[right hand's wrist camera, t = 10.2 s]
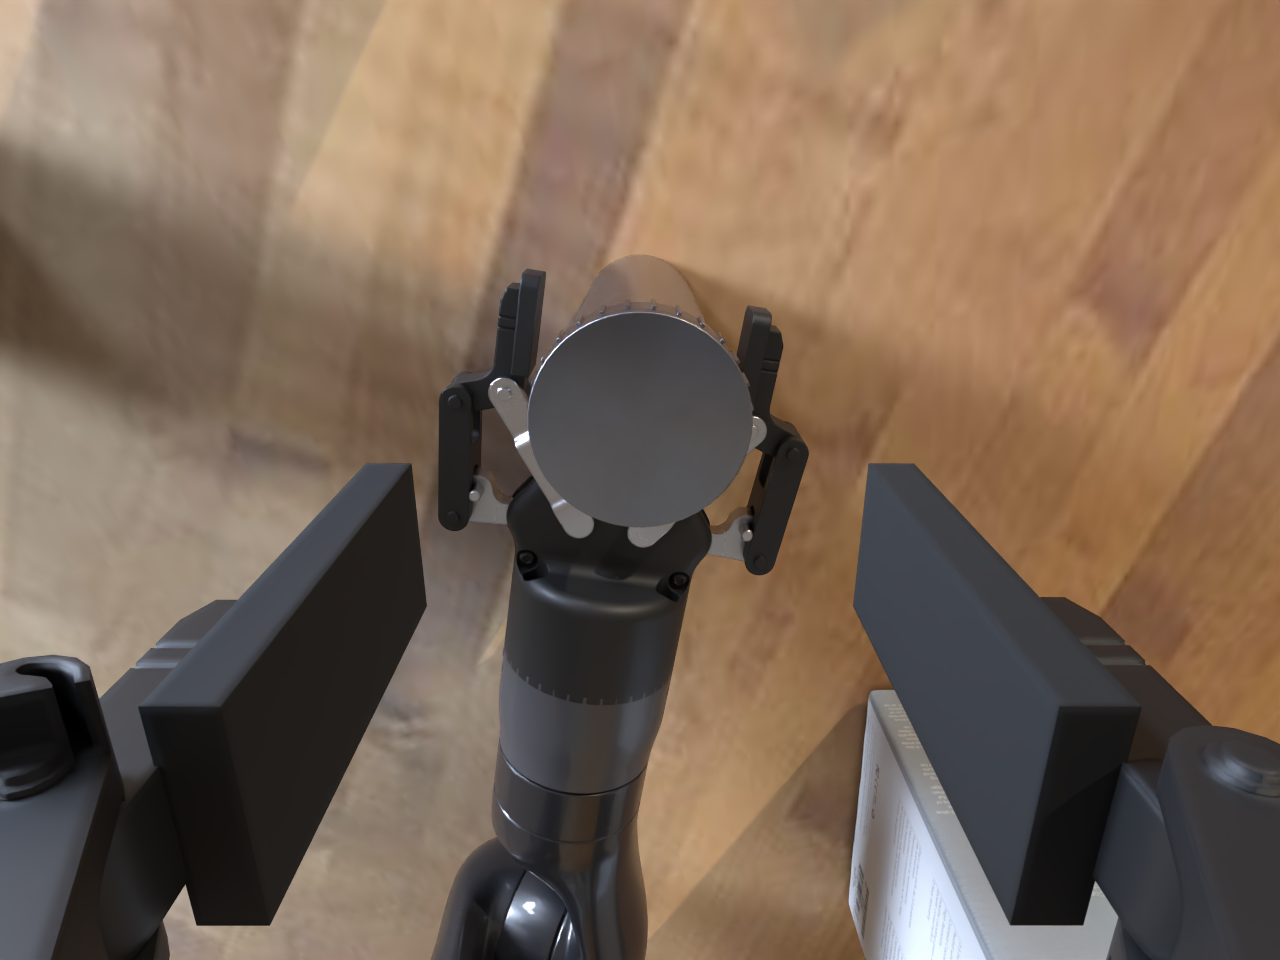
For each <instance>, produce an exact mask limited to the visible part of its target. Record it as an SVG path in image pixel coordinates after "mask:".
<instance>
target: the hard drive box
mask: <svg viewBox="0 0 1280 960" xmlns="http://www.w3.org/2000/svg"><path fill="white" fill-rule="evenodd" d="M849 906H850V910H851V913H852V916H853V920H854V923H855V927H856V930H857V933H858V936H859V940H860V943H861V946H862V950H863V953H864V956H865V959H866V960H1106V958H1107V954H1108V951H1109V948H1110V944H1111V941H1112V937H1113V934H1114V930H1115V927H1116V923H1117V920H1118V915H1117V914H1116V912H1115V911H1114V909H1113V908H1112V906H1111V905H1110V903H1109V901H1108V900H1107V898H1106V897H1105V895H1104V894H1103V892H1102V891H1101V889H1100V887H1099V886H1098V884H1097V883H1096V881H1095V884H1094V888H1093V891H1092V895H1091V899H1090V902H1089V906H1088V910H1087V914H1086V917H1085V921H1084V925H1083V926H1010V924H1009V922H1008V920H1007V918H1006V916H1005V914H1004V912H1003V910H1002V908H1001V906H1000V904H999V902H998V900H997V898H996V896H995V894H994V892H993V890H992V887H991V885H990V883H989V881H988V879H987V877H986V875H985V873H984V871H983V869H982V867H981V865H980V863H979V861H978V859H977V857H976V855H975V853H974V851H973V849H972V847H971V845H970V843H969V841H968V839H967V837H966V835H965V833H964V831H963V828H962V826H961V824H960V822H959V820H958V818H957V816H956V814H955V812H954V810H953V808H952V806H951V804H950V802H949V800H948V798H947V796H946V794H945V792H944V790H943V788H942V786H941V784H940V782H939V780H938V778H937V776H936V774H935V772H934V769H933V767H932V765H931V763H930V761H929V759H928V757H927V755H926V753H925V751H924V749H923V747H922V745H921V743H920V741H919V739H918V737H917V735H916V733H915V731H914V729H913V727H912V725H911V723H910V721H909V719H908V717H907V715H906V713H905V710H904V708H903V706H902V704H901V702H900V700H899V698H898V696H897V694H896V692H895V690H873V691H871V692H870V693H869V699H868V709H867V722H866V731H865V738H864V749H863V761H862V772H861V782H860V789H859V800H858V811H857V821H856V830H855V840H854V845H853V855H852V868H851V881H850V891H849Z"/></svg>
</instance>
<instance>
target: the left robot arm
mask: <svg viewBox="0 0 1280 960" xmlns="http://www.w3.org/2000/svg"><path fill="white" fill-rule="evenodd" d="M545 279H546V272H544V271H538V270H532V269H526V270H525V271H524V272H523V273H522V276H521V281H520V284H519V283H512V284H510V285H509V286H508V287H507V288H506V290H505V292H504V294H503V296H502V298H501V300H500V308H499V319H498V329H497V340H496V350H495V361H494V366H493V368H491V369H489V370H486V371H481V372H476V373H472V372H462V373H460V374H458V375H457V376H456V377H455V378H454V380H453V381H452V383H451V384H450V385H449V386H448V387H446V388H445V389H444V391H443V392H442V393H441V395H440V398H439V498H438V518H439V521H440V523H441V525H442V526H443V527H445V528H446V529H448V530H451V531H458V530H461V529H463V528H464V527H465V526H466V525H467V523H468V522H479V523H490V524H501V525H508V527H509V529H510V531H511V533H512V536H513V539H514V543H515V557H514V566H513V575H512V584H511V592H510V601H509V610H508V618H507V627H506V636H505V644H504V650H503V663H502V671H501V679H500V690H499V714H500V738H499V745H498V754H497V762H496V771H495V779H494V787H493V796H492V822H493V827H494V830H495V833H496V836H497V837H496V838H493V839H491V840H489V841H487V842H485V843H484V844H482V845H481V846H479V847H478V848H477V849H476V850H474V851H473V852H472V853H471V854H470V855H469V856H468V857H467V859H466V860H465V861H464V863H463V864H462V866H461V867H460V869H459V871H458V873H457V875H456V877H455V879H454V882H453V885H452V888H451V891H450V893H449V896H448V900H447V903H446V907H445V911H444V914H443V918H442V922H441V926H440V930H439V933H438V937H437V941H436V944H435V948H434V951H433V954H432V958H431V960H645V955H646V949H647V937H648V916H647V902H646V893H645V887H644V880H643V875H642V869H641V863H640V856H639V848H638V834H637V817H638V811H639V805H640V800H641V795H642V790H643V785H644V780H645V775H646V770H647V765H648V760H649V756H650V752H651V749H652V746H653V743H654V741H655V738H656V736H657V733H658V730H659V728H660V725H661V721H662V718H663V714H664V709H665V704H666V699H667V695H668V690H669V685H670V680H671V675H672V670H673V666H674V660H675V655H676V651H677V646H678V641H679V636H680V631H681V626H682V622H683V617H684V612H685V607H686V602H687V597H688V592H689V587H690V583H691V578H692V575H693V572H694V570H695V568H696V566H697V565H698V564H699V562H700V561H701V560H702V559H703V558H704V557H705V556H706V555H707V554H710V555H715V556H720V557H725V558H730V559H735V560H740V561H744V562H745V565H746V568H747V570H748V571H749V572H750V573H752V574H754V575H764V574H767V573H768V572H770V571H771V570H772V568H773V567H774V564H775V561H776V557H777V554H778V551H779V548H780V545H781V542H782V538H783V535H784V532H785V529H786V526H787V523H788V519H789V516H790V513H791V510H792V507H793V504H794V500H795V497H796V494H797V491H798V488H799V484H800V481H801V478H802V475H803V472H804V469H805V465H806V462H807V459H808V455H809V452H808V448H807V446H806V444H805V443H804V441H803V439H802V438H801V436H800V434H799V433H798V431H797V430H796V428H795V426H794V425H793V424H791V423H789V422H785V421H782V420H780V419H778V418H776V417H774V416H773V415H771V414H770V404H771V399H772V395H773V390H774V386H775V381H776V377H777V371H778V368H779V364H780V359H781V355H782V350H783V341H782V335H781V332H780V331H779V330H778V328H777V327H776V326H774V325H771V320H772V316H771V313H770V312H769V311H768V310H767V309H766V308H760V307H754V306H748V307H747V309H746V312H745V317H744V322H743V327H742V331H741V336H740V341H739V346H738V351H737V357H738V359H739V361H740V363H739V364H737V365H738V366H739V369H740V371H741V373H744V374H745V376H746V378H747V380H748V382H749V384H750V386H749V387H748V390H749V393H750V399H751V403H752V405H753V407H754V410H753V411H752V415H753V425H752V436H751V440H750V444H749V449H748V452H747V454H748V453H749V452H751V451H752V450H753V449H754V448H756V449H758V450H760V451H762V452H763V454H762V457H761V461H760V464H759V467H758V471H757V474H756V478H755V481H754V484H753V488H752V491H751V495H750V498H749V502H748V505H747V507H738V508H736V509H734V510H733V511H732V512H731V513H730V515H729V517H728V519H727V520H726V521H725V522H724V523H723V524H721V525H718V526H710V523H709V520H708V517H707V515H706V513H705V511H704V510H703V509H702V510H700V511H699V512H697V513H695V514H693V515H691V516H689V517H687V518H685V519H682V520H679V521H677V522H674V523H671V524H666V525H661V526H655V527H644V528H642V527H625V526H619V525H614V524H610V523H607V522H603V521H600V520H598V519H595V518H593V517H591V516H588V515H587V514H585V513H583V512H581V511H580V510H578V509H576V508H575V507H573V506H572V505H571V504H569V503H568V502H567V501H565V500H564V499H563V498H562V497H561V496H560V495H559V494H558V493H557V492H556V491H555V490H554V489H553V487H552V486H551V485H550V484H549V482H548V481H547V480H546V478H545V477H544V475H543V473H542V472H541V470H540V468H539V466H538V464H537V462H536V460H535V457H534V455H533V452H532V448H531V445H530V441H529V434H528V431H527V429H528V427H527V412H528V409H526V405H527V403H528V401H529V398H530V394H531V390H532V386H533V385H531V381H532V380H531V378H530V377H529V376H530V374H531V372H532V370H533V369H534V367H535V365H536V358H537V350H538V341H539V332H540V323H541V315H542V306H543V297H544V288H545ZM490 408H495V409H496V410H497V412H498V413H499V415H500V417H501V418H502V420H503V422H504V423H505V425H506V426H507V428H508V430H509V431H510V433H511V434H512V436H513V438H514V442H515V446H516V449H517V451H518V453H519V454H520V456H521V458H522V459H523V461H524V462H525V464H526V466H527V467H528V469H529V470H530V472H531V474H532V475H531V476H530V477H529V478H528V479H527V480H526V481H525V482H524V483H523V484H522V485H521V486H520V487H519V488H518V489H517V490H516V491H515V493H514V494H513V496H507V495H505V494H503V493H502V492H501V491H500V490H499V489H498V487H497V482H496V478H495V476H494V474H493V473H492V472H491V471H490V470H488V469H485V468H481V436H482V410H485V409H490ZM747 454H746V455H747Z"/></svg>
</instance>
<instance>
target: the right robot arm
mask: <svg viewBox="0 0 1280 960" xmlns="http://www.w3.org/2000/svg"><path fill="white" fill-rule="evenodd" d="M426 607H427V603H426V594H425V585H424V576H423V567H422V557H421V548H420V539H419V530H418V520H417V511H416V502H415V493H414V483H413V474H412V465H411V464H365V465H364V466H363V468H362V469H361V470H360V471H359V472H358V473H357V474H356V475H355V476H354V477H353V478H352V479H351V480H350V481H349V482H348V483H347V485H346V486H345V487H344V488H343V489H342V490H341V491H340V492H339V493H338V494H337V495H336V496H335V497H334V498H333V499H332V500H331V502H330V503H329V504H328V505H327V506H326V507H325V508H324V509H323V510H322V511H321V512H320V513H319V514H318V515H317V516H316V518H315V519H314V520H313V521H312V522H311V523H310V524H309V525H308V526H307V527H306V528H305V529H304V530H303V531H302V532H301V533H300V535H299V536H298V537H297V538H296V539H295V540H294V541H293V542H292V543H291V544H290V545H289V546H288V547H287V548H286V549H285V550H284V552H283V553H282V554H281V555H280V556H279V557H278V558H277V559H276V560H275V561H274V562H273V563H272V564H271V565H270V566H269V568H268V569H267V570H266V571H265V572H264V573H263V574H262V575H261V576H260V577H259V578H258V579H257V580H256V581H255V582H254V583H253V585H252V586H251V587H250V588H249V589H248V590H247V591H246V592H245V593H244V594H243V595H242V596H241V597H240V598H239V599H238V600H215V601H214V602H212V603H210V604H208V605H206V606H205V607H203V608H201V609H199V610H197V611H196V612H194V613H192V614H190V615H188V616H187V617H185V618H183V619H181V620H180V621H179V622H178V623H177V624H176V625H175V626H174V627H173V628H172V629H171V630H170V631H168V632H167V633H166V634H165V635H164V636H163V637H162V638H161V639H160V640H159V641H158V642H157V643H156V648H151V649H150V650H149V651H148V652H147V653H146V654H145V655H144V656H143V657H142V658H141V659H140V660H139V661H138V662H137V663H136V668H131V669H129V670H128V671H127V672H126V673H125V674H124V675H123V676H122V677H121V678H120V679H119V680H118V681H117V682H116V683H115V684H114V685H113V686H112V687H111V688H110V689H109V690H108V691H107V692H106V693H105V694H104V695H103V696H102V697H101V698H100V699H99V698H98V694H97V691H96V687H95V684H94V680H93V677H92V674H91V670H90V667H89V666H88V665H87V664H85V663H84V662H82V661H81V660H79V659H78V658H74V657H66V656H58V655H47V656H37V657H27V658H21V659H17V660H13V661H9V662H5V663H1V664H0V960H169V957H170V952H169V945H168V937H167V934H166V930H165V927H164V923H163V918H164V917H165V915H166V914H167V912H168V911H169V909H170V907H171V906H172V904H173V903H174V901H175V900H176V898H177V896H178V895H179V893H180V892H181V890H182V889H183V887H184V886H185V884H186V888H187V891H188V895H189V899H190V902H191V906H192V910H193V914H194V917H195V921H196V925H197V926H270V924H271V922H272V920H273V918H274V916H275V914H276V912H277V910H278V908H279V906H280V904H281V902H282V900H283V898H284V896H285V894H286V892H287V890H288V887H289V885H290V883H291V881H292V879H293V877H294V875H295V873H296V871H297V869H298V867H299V865H300V863H301V861H302V859H303V857H304V855H305V853H306V851H307V849H308V847H309V845H310V843H311V841H312V839H313V837H314V835H315V833H316V831H317V828H318V826H319V824H320V822H321V820H322V818H323V816H324V814H325V812H326V810H327V808H328V806H329V804H330V802H331V800H332V798H333V796H334V794H335V792H336V790H337V788H338V786H339V784H340V782H341V780H342V778H343V776H344V774H345V772H346V769H347V767H348V765H349V763H350V761H351V759H352V757H353V755H354V753H355V751H356V749H357V747H358V745H359V743H360V741H361V739H362V737H363V735H364V733H365V731H366V729H367V727H368V725H369V723H370V721H371V719H372V717H373V715H374V713H375V710H376V708H377V706H378V704H379V702H380V700H381V698H382V696H383V694H384V692H385V690H386V688H387V686H388V684H389V682H390V680H391V678H392V676H393V674H394V672H395V670H396V668H397V666H398V664H399V662H400V660H401V658H402V656H403V654H404V651H405V649H406V647H407V645H408V643H409V641H410V639H411V637H412V635H413V633H414V631H415V629H416V627H417V625H418V623H419V621H420V619H421V617H422V615H423V613H424V611H425V609H426ZM853 607H854V609H855V611H856V613H857V615H858V617H859V619H860V621H861V623H862V625H863V627H864V629H865V631H866V633H867V635H868V637H869V639H870V641H871V643H872V645H873V647H874V649H875V651H876V654H877V656H878V658H879V660H880V662H881V664H882V666H883V668H884V670H885V672H886V674H887V676H888V678H889V680H890V682H891V684H892V686H893V688H894V690H895V692H896V694H897V696H898V698H899V700H900V702H901V704H902V706H903V708H904V710H905V713H906V715H907V717H908V719H909V721H910V723H911V725H912V727H913V729H914V731H915V733H916V735H917V737H918V739H919V741H920V743H921V745H922V747H923V749H924V751H925V753H926V755H927V757H928V759H929V761H930V763H931V765H932V767H933V769H934V772H935V774H936V776H937V778H938V780H939V782H940V784H941V786H942V788H943V790H944V792H945V794H946V796H947V798H948V800H949V802H950V804H951V806H952V808H953V810H954V812H955V814H956V816H957V818H958V820H959V822H960V824H961V826H962V828H963V831H964V833H965V835H966V837H967V839H968V841H969V843H970V845H971V847H972V849H973V851H974V853H975V855H976V857H977V859H978V861H979V863H980V865H981V867H982V869H983V871H984V873H985V875H986V877H987V879H988V881H989V883H990V885H991V887H992V890H993V892H994V894H995V896H996V898H997V900H998V902H999V904H1000V906H1001V908H1002V910H1003V912H1004V914H1005V916H1006V918H1007V920H1008V922H1009V924H1010V926H1083V925H1084V921H1085V917H1086V914H1087V910H1088V906H1089V902H1090V899H1091V895H1092V891H1093V888H1094V884H1095V881H1096V883H1097V884H1098V886H1099V887H1100V889H1101V891H1102V892H1103V894H1104V895H1105V897H1106V898H1107V900H1108V901H1109V903H1110V905H1111V906H1112V908H1113V909H1114V911H1115V912H1116V914H1117V915H1118V920H1117V923H1116V927H1115V930H1114V934H1113V937H1112V941H1111V944H1110V948H1109V951H1108V954H1107V958H1106V960H1280V744H1278V743H1276V742H1274V741H1272V740H1270V739H1268V738H1265V737H1262V736H1259V735H1255V734H1252V733H1248V732H1245V731H1242V730H1238V729H1235V728H1228V727H1219V726H1212V725H1211V724H1210V723H1209V722H1208V721H1207V720H1206V719H1205V718H1204V717H1203V716H1202V715H1201V714H1200V713H1199V712H1198V711H1197V710H1196V709H1195V708H1194V707H1193V706H1192V705H1191V704H1190V703H1189V702H1188V701H1187V700H1186V699H1184V698H1183V697H1182V696H1181V695H1180V694H1179V693H1178V692H1177V691H1176V690H1175V689H1174V688H1173V687H1172V686H1171V685H1170V684H1169V683H1168V682H1167V681H1166V680H1165V679H1164V678H1163V677H1162V676H1161V675H1160V674H1159V673H1158V672H1157V671H1156V670H1154V669H1153V668H1152V667H1151V666H1150V665H1145V660H1144V659H1143V658H1142V657H1141V656H1140V655H1139V654H1138V653H1137V652H1136V651H1135V650H1134V649H1133V648H1132V647H1131V646H1130V645H1125V643H1124V642H1125V641H1124V640H1123V639H1122V638H1121V637H1120V636H1119V635H1118V634H1117V633H1116V632H1115V631H1114V630H1113V629H1112V628H1111V627H1110V626H1109V625H1108V624H1107V623H1106V622H1105V621H1104V620H1103V619H1102V618H1101V617H1099V616H1097V615H1095V614H1094V613H1092V612H1090V611H1088V610H1086V609H1085V608H1083V607H1081V606H1079V605H1077V604H1076V603H1074V602H1072V601H1070V600H1068V599H1067V598H1065V597H1039V596H1038V595H1037V594H1036V593H1035V592H1034V591H1033V590H1032V589H1031V588H1030V587H1029V586H1028V585H1027V583H1026V582H1025V581H1024V580H1023V579H1022V578H1021V577H1020V576H1019V575H1018V574H1017V573H1016V572H1015V571H1014V570H1013V569H1012V568H1011V566H1010V565H1009V564H1008V563H1007V562H1006V561H1005V560H1004V559H1003V558H1002V557H1001V556H1000V555H999V554H998V553H997V552H996V550H995V549H994V548H993V547H992V546H991V545H990V544H989V543H988V542H987V541H986V540H985V539H984V538H983V537H982V536H981V535H980V533H979V532H978V531H977V530H976V529H975V528H974V527H973V526H972V525H971V524H970V523H969V522H968V521H967V520H966V519H965V518H964V516H963V515H962V514H961V513H960V512H959V511H958V510H957V509H956V508H955V507H954V506H953V505H952V504H951V503H950V502H949V501H948V499H947V498H946V497H945V496H944V495H943V494H942V493H941V492H940V491H939V490H938V489H937V488H936V487H935V486H934V485H933V483H932V482H931V481H930V480H929V479H928V478H927V477H926V476H925V475H924V474H923V473H922V472H921V471H920V470H919V469H918V468H917V466H916V465H915V464H869V465H868V474H867V483H866V493H865V502H864V511H863V520H862V530H861V539H860V548H859V557H858V567H857V576H856V585H855V594H854V603H853Z"/></svg>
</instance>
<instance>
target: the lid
mask: <svg viewBox="0 0 1280 960" xmlns="http://www.w3.org/2000/svg"><path fill="white" fill-rule="evenodd" d="M541 362H542V363H543V364H542V366H541V368H540V370H539V372H538V371H536V373H535V375H534V377H533V379H532V381H531V385H533V386H532V390H531V394H530V398H529V401H528V403H527V405H526V409H528V412H527V427H528V429H527V431H528V434H529V441H530V445H531V448H532V452H533V455H534V457H535V460H536V462H537V464H538V466H539V468H540V470H541V472H542V473H543V475H544V477H545V478H546V480H547V481H548V482H549V484H550V485H551V486H552V487H553V489H554V490H555V491H556V492H557V493H558V494H559V495H560V496H561V497H562V498H563V499H564V500H565V501H567V502H568V503H569V504H571V505H572V506H573V507H575V508H576V509H578V510H580V511H581V512H583V513H585V514H587V515H588V516H591V517H593V518H595V519H598V520H600V521H603V522H607V523H610V524H614V525H619V526H625V527H642V528H644V527H655V526H661V525H666V524H671V523H674V522H677V521H679V520H682V519H685V518H687V517H689V516H691V515H693V514H695V513H697V512H699V511H700V510H702V509H703V508H705V507H707V506H708V505H709V504H711V503H712V502H713V501H714V500H715V499H717V498H718V497H719V496H720V495H721V494H722V493H723V492H724V491H725V490H726V489H727V487H728V486H729V485H730V484H731V482H732V481H733V479H734V478H735V477H736V475H737V474H738V472H739V470H740V468H741V466H742V464H743V462H744V460H745V457H746V454H747V452H748V449H749V444H750V440H751V436H752V425H753V415H752V411H753V410H754V407H753V405H752V403H751V399H750V393H749V390H748V387H749V386H750V384H749V382H748V380H747V378H746V376H745V374H744V373H741V371H740V369H739V366H738V365H737V364H739V363H740V361H739V359H738V357H737V355H736V353H735V352H734V351H732V352H731V351H730V350H729V348H728V347H727V346H726V344H725V340H724V338H723V336H722V334H721V333H720V332H719V331H718V332H717V333H716V332H715V331H713V330H712V329H711V328H710V327H709V326H708V325H706V324H705V322H704V320H703V318H702V317H701V316H699V317H698V318H696V317H695V316H693V315H691V314H689V313H687V312H685V311H683V310H681V307H680V306H679V305H676V307H672V306H668V305H665V304H659V303H656V300H654V299H652V300H651V302H630V299H626V303H620V304H616V305H612V306H608V307H606V305H605V304H604V305H601V309H600V310H597V311H595V312H593V313H591V314H589V315H587V316H585V317H583V315H581V316H579V318H578V320H577V322H576V323H575V324H574V325H572V326H571V327H570V328H569V329H568V330H567V331H566V332H564V331H563V330H562V331H561V332H560V333H559V335H558V337H557V339H556V343H555V344H554V345H553V347H552V348H551V350H550V351H549V350H548V349H547V350H546V352H545V354H544V355H543V357H542V359H541Z"/></svg>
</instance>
